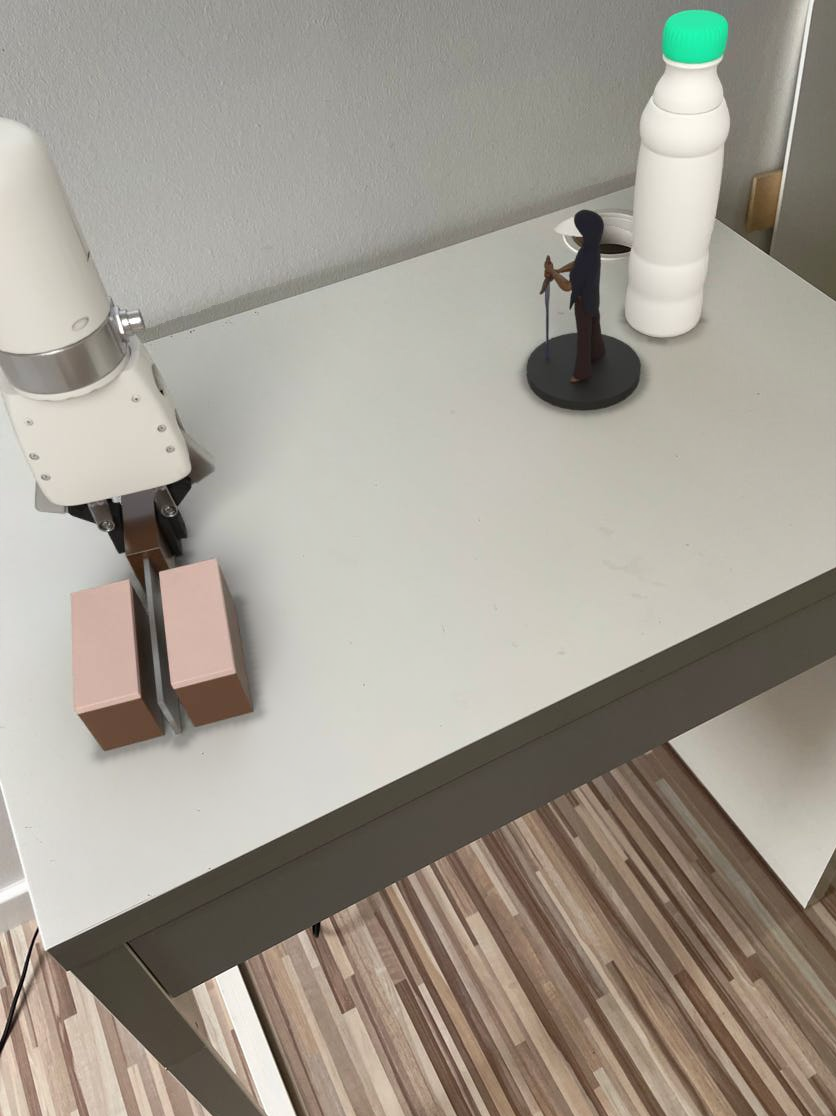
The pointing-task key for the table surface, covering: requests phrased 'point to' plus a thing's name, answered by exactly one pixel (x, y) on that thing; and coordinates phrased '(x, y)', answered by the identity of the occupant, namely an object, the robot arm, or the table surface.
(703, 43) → the water bottle
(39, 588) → the table surface
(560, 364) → the figurine
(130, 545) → the knife
